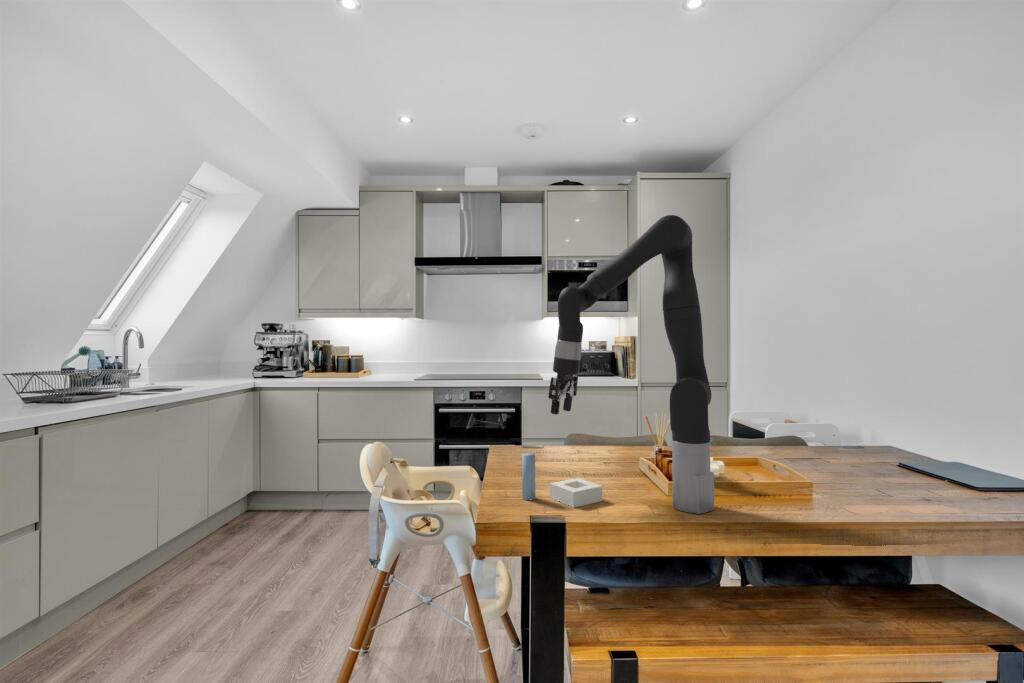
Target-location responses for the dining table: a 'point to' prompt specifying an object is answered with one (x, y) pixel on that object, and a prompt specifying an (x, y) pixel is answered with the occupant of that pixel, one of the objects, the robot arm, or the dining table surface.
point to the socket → (576, 492)
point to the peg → (528, 476)
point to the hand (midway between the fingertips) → (560, 412)
